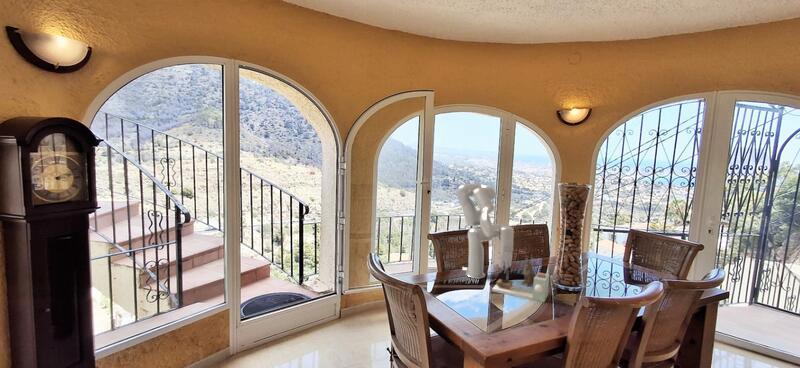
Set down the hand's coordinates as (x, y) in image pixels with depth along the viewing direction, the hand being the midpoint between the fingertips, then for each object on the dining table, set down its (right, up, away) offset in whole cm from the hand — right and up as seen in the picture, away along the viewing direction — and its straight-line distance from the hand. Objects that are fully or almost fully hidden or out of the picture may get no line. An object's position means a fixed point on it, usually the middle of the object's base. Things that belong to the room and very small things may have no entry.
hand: (505, 276), depth 220 cm
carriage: (0, -6, +1) cm, 6 cm away
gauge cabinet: (+17, -9, -9) cm, 21 cm away
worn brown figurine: (+19, -7, +12) cm, 23 cm away
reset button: (+17, +1, -10) cm, 20 cm away
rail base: (+5, -8, -2) cm, 10 cm away
